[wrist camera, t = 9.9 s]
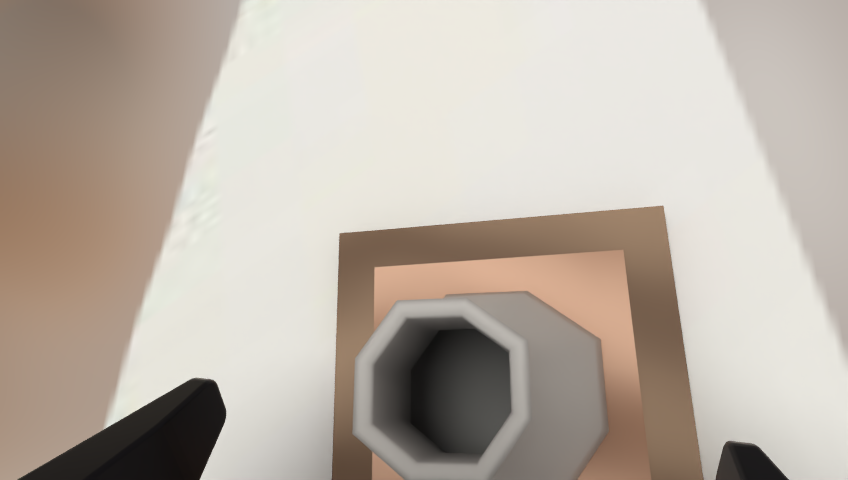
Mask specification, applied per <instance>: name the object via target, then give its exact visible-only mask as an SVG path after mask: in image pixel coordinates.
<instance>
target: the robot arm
mask: <svg viewBox="0 0 848 480" xmlns="http://www.w3.org/2000/svg"><path fill="white" fill-rule="evenodd" d="M225 419H226V408H225V405H224V402H223V399H222V397H221V394H220V391H219V388H218V385H217V383H216V382H215V381H214V380H211V379H204V378H193V379H191V380H189V381H187V382H185V383H183V384H182V385H180V386H178V387H177V388H175V389H173V390H171V391H170V392H168V393H166V394H165V395H163V396H161V397H159V398H158V399H156V400H154V401H152V402H151V403H149V404H147V405H146V406H144V407H142V408H140V409H139V410H137V411H135V412H133V413H132V414H130V415H128V416H127V417H125V418H123V419H121V420H120V421H118V422H116V423H114V424H113V425H111V426H109V427H108V428H106V429H104V430H102V431H101V432H99V433H97V434H96V435H94V436H92V437H91V438H89V439H87V440H85V441H83V442H82V443H80V444H78V445H76V446H75V447H73V448H71V449H70V450H68V451H66V452H65V453H63V454H61V455H59V456H57V457H56V458H54V459H52V460H51V461H49V462H47V463H45V464H44V465H42V466H40V467H39V468H37V469H35V470H33V471H31V472H30V473H28V474H26V475H25V476H23V477H21V478H19V479H18V480H200V477H201V475H202V473H203V471H204V468H205V466H206V464H207V462H208V459H209V457H210V455H211V452H212V450H213V448H214V446H215V443H216V441H217V439H218V437H219V434H220V432H221V430H222V427H223V425H224V423H225ZM716 480H789V479H788V478H787V477H786V476H785V475H784V474H783V473H782V472H781V471H780V470H779V468H778V467H777V466H776V465H775V464H774V463H773V462H772V461H771V460H770V459H769V457H768V456H767V455H766V454H765V453H764V452H763V451H762V450H761V449H760V448H759V447H758V446H756V445H755V444H751V443H744V442H735V441H728V442H726V443H725V445H724V447H723V451H722V455H721V459H720V463H719V467H718V471H717V475H716Z"/></svg>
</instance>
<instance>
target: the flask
mask: <svg viewBox="0 0 848 480" xmlns="http://www.w3.org/2000/svg"><path fill="white" fill-rule="evenodd" d="M608 432H609V426H608V415H607V404H606V393H605V381H604V370H603V359H602V348H601V339H600V338H598V337H597V336H595V335H594V334H592V333H591V332H589V331H588V330H586V329H585V328H583V327H581V326H580V325H578V324H577V323H575V322H574V321H572V320H571V319H569V318H568V317H566V316H565V315H563V314H562V313H560V312H559V311H557V310H556V309H554V308H553V307H551V306H550V305H548V304H547V303H545V302H544V301H542V300H541V299H539V298H538V297H536V296H534V295H533V294H531V293H530V292H528V291H510V292H487V293H464V294H446V295H445V297H444V298H442V299H418V300H397V301H396V302H395V304H394V305H393V306H392V308H391V309H390V311H389V312H388V313H387V315H386V316H385V318H384V319H383V320H382V322H381V323H380V324H379V326H378V327H377V329H376V330H375V331H374V333H373V334H372V336H371V337H370V338H369V340H368V341H367V342H366V344H365V345H364V347H363V348H362V349H361V351H360V352H359V354H358V355H357V356H356V358H355V372H354V401H353V430H352V434H353V435H354V436H355V437H357V438H358V439H359V440H360V441H361V442H362V443H363V444H364V445H366V446H367V447H368V448H369V449H370V450H371V451H372V452H374V453H375V454H376V455H377V456H378V457H379V458H380V459H382V460H383V461H384V462H385V463H386V464H387V465H388V466H389V467H391V468H392V469H393V470H394V471H395V472H396V473H397V474H399V475H400V476H401V477H402V478H403V479H404V480H577V479H578V477H579V476H580V474H581V473H582V471H583V470H584V468H585V467H586V465H587V464H588V462H589V461H590V459H591V458H592V456H593V455H594V453H595V452H596V450H597V449H598V447H599V446H600V444H601V443H602V441H603V440H604V438H605V437H606V435H607V433H608Z"/></svg>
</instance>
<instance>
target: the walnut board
mask: <svg viewBox="0 0 848 480" xmlns="http://www.w3.org/2000/svg"><path fill="white" fill-rule="evenodd" d="M510 291H528V292H530V293H531V294H533V295H534V296H536V297H538V298H539V299H541V300H542V301H544V302H545V303H547V304H548V305H550V306H551V307H553V308H554V309H556V310H557V311H559V312H560V313H562V314H563V315H565V316H566V317H568V318H569V319H571V320H572V321H574V322H575V323H577V324H578V325H580V326H581V327H583V328H585V329H586V330H588V331H589V332H591V333H592V334H594V335H595V336H597V337H598V338H600V339H601V348H602V359H603V370H604V381H605V393H606V404H607V415H608V426H609V432H608V433H607V435H606V437H605V438H604V440H603V441H602V443H601V444H600V446H599V447H598V449H597V450H596V452H595V453H594V455H593V456H592V458H591V459H590V461H589V462H588V464H587V465H586V467H585V468H584V470H583V471H582V473H581V474H580V476H579V477H578V479H577V480H703V474H702V467H701V460H700V453H699V447H698V440H697V433H696V426H695V419H694V412H693V406H692V399H691V392H690V385H689V378H688V371H687V364H686V358H685V351H684V344H683V337H682V330H681V323H680V317H679V310H678V303H677V296H676V289H675V282H674V276H673V269H672V262H671V255H670V248H669V241H668V234H667V228H666V221H665V214H664V207H663V206H655V207H644V208H632V209H620V210H609V211H597V212H585V213H574V214H562V215H550V216H538V217H527V218H515V219H503V220H492V221H480V222H468V223H457V224H445V225H433V226H422V227H410V228H398V229H387V230H375V231H363V232H352V233H340V237H339V269H338V302H337V334H336V366H335V398H334V430H333V462H332V480H404V479H403V478H402V477H401V476H400V475H399V474H397V473H396V472H395V471H394V470H393V469H392V468H391V467H389V466H388V465H387V464H386V463H385V462H384V461H383V460H382V459H380V458H379V457H378V456H377V455H376V454H375V453H374V452H372V451H371V450H370V449H369V448H368V447H367V446H366V445H364V444H363V443H362V442H361V441H360V440H359V439H358V438H357V437H355V436H354V435H353V434H352V430H353V401H354V372H355V358H356V356H357V355H358V354H359V352H360V351H361V349H362V348H363V347H364V345H365V344H366V342H367V341H368V340H369V338H370V337H371V336H372V334H373V333H374V331H375V330H376V329H377V327H378V326H379V324H380V323H381V322H382V320H383V319H384V318H385V316H386V315H387V313H388V312H389V311H390V309H391V308H392V306H393V305H394V304H395V302H396V301H397V300H418V299H442V298H444V297H445V295H446V294H464V293H487V292H510Z"/></svg>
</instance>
